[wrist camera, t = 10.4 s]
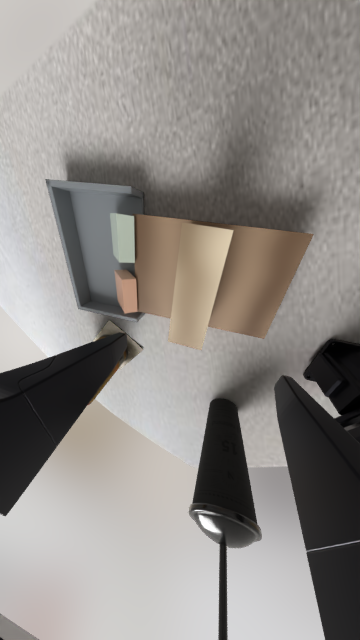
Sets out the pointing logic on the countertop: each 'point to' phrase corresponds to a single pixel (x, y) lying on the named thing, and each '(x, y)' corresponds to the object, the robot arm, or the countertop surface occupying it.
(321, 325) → the countertop surface
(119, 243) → the tile sage
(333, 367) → the robot arm
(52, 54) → the countertop surface
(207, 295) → the tall cream block
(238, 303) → the walnut board
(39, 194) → the countertop surface
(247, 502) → the drinking cup
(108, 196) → the tray
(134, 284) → the tile terracotta
